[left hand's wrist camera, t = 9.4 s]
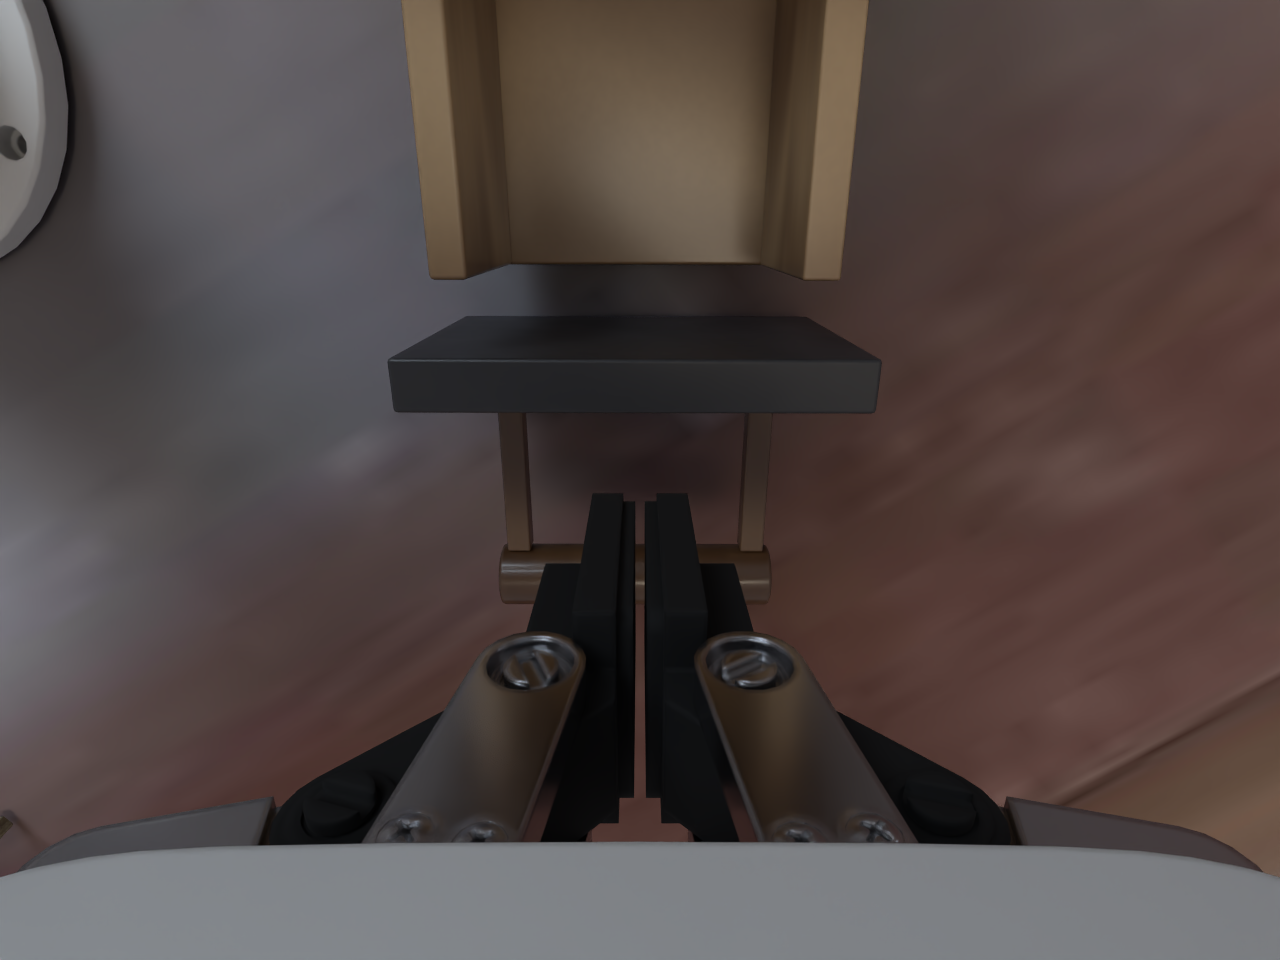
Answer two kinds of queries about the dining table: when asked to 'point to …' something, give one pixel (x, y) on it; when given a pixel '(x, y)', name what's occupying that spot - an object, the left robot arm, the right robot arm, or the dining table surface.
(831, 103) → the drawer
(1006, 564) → the dining table surface
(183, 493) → the dining table surface
